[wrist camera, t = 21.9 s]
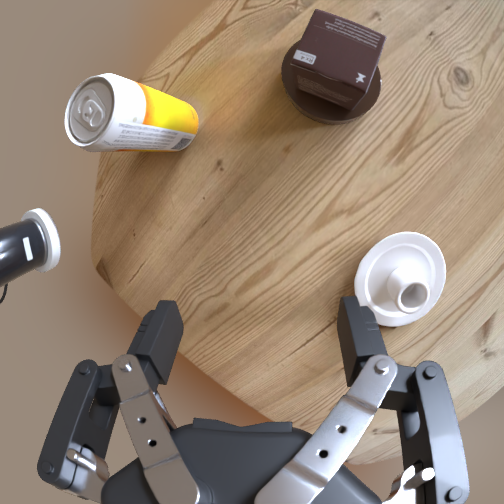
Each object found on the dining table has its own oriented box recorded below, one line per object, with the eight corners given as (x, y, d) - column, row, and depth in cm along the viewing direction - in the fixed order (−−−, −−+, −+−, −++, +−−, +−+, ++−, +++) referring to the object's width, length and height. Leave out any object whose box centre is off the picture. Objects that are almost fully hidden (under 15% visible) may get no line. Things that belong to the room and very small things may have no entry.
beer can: (177, 92, 28) (92, 57, 14) (211, 123, 28) (135, 97, 14) (145, 131, 30) (52, 123, 16) (176, 162, 30) (87, 169, 16)
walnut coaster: (285, 123, 27) (282, 119, 24) (281, 42, 24) (279, 32, 21) (378, 128, 25) (384, 125, 23) (371, 46, 22) (375, 37, 20)
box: (370, 64, 21) (389, 36, 14) (351, 113, 23) (367, 95, 16) (314, 41, 21) (314, 6, 14) (293, 88, 23) (288, 63, 16)
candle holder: (334, 270, 31) (337, 286, 27) (418, 209, 27) (433, 217, 23) (381, 339, 32) (387, 359, 28) (455, 288, 28) (469, 303, 24)
